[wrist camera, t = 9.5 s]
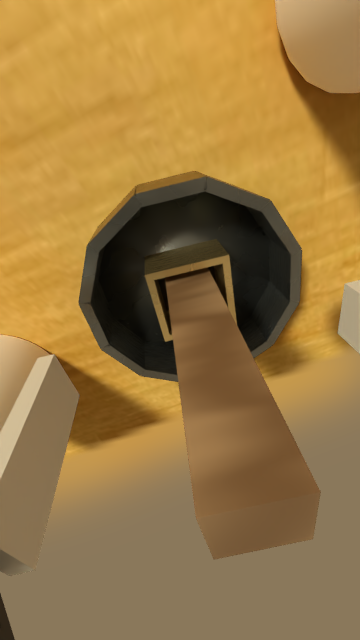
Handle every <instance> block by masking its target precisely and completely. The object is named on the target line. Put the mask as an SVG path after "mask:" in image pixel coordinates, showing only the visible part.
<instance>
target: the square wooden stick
mask: <svg viewBox="0 0 360 640" xmlns="http://www.w3.org/2000/svg"><path fill="white" fill-rule="evenodd" d="M165 281H166V289H167V297H168V305H169V312H170V320H171V328H172V336H173V343H174V351H175V359H176V367H177V374H178V382H179V390H180V398H181V405H182V413H183V421H184V429H185V436H186V444H187V452H188V460H189V467H190V475H191V483H192V491H193V498H194V506H195V514H196V519H197V522H198V524H199V526H200V529H201V531H202V533H203V535H204V538H205V540H206V542H207V545H208V547H209V549H210V552H211V554H212V556H213V559H219V558H223V557H229V556H233V555H238V554H243V553H248V552H253V551H257V550H262V549H267V548H272V547H277V546H282V545H286V544H292V543H296V542H301V541H306V540H311V539H313V536H314V529H315V523H316V517H317V510H318V505H319V499H320V493H321V492H320V490H319V488H318V486H317V484H316V482H315V480H314V478H313V476H312V474H311V472H310V470H309V468H308V466H307V464H306V462H305V460H304V458H303V456H302V454H301V452H300V450H299V448H298V446H297V444H296V442H295V440H294V438H293V436H292V434H291V432H290V430H289V428H288V426H287V424H286V422H285V420H284V418H283V416H282V414H281V412H280V410H279V408H278V406H277V404H276V402H275V400H274V398H273V396H272V394H271V392H270V390H269V388H268V386H267V384H266V382H265V380H264V378H263V376H262V374H261V372H260V370H259V368H258V366H257V364H256V362H255V360H254V358H253V356H252V354H251V352H250V350H249V348H248V346H247V344H246V342H245V340H244V338H243V336H242V334H241V332H240V330H239V328H238V326H237V324H236V322H235V320H234V318H233V316H232V315H231V313H230V311H229V309H228V307H227V305H226V303H225V301H224V299H223V297H222V295H221V293H220V291H219V289H218V287H217V285H216V283H215V281H214V279H213V277H212V275H211V273H210V271H209V269H208V267H206V268H202V269H198V270H194V271H190V272H186V273H182V274H177V275H173V276H169V277H165Z"/></svg>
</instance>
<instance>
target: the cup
mask: <svg viewBox="0 0 360 640" xmlns="http://www.w3.org/2000/svg"><path fill="white" fill-rule="evenodd" d="M48 355H50V354H49V353H48V352H46V351H45V350H44V349H42V348H41V347H39V346H37V345H35V344H33V343H31V342H29V341H26V340H24V339H21V338H17V337H13V336H8V335H0V432H1V430H2V428H3V426H4V424H5V422H6V420H7V418H8V416H9V414H10V412H11V410H12V408H13V406H14V404H15V402H16V400H17V398H18V396H19V394H20V392H21V390H22V388H23V386H24V384H25V382H26V380H27V378H28V376H29V374H30V372H31V370H32V368H33V366H34V364H35V362H36V360H37V358H40V357H44V356H48Z"/></svg>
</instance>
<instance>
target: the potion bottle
mask: <svg viewBox="0 0 360 640" xmlns="http://www.w3.org/2000/svg"><path fill="white" fill-rule="evenodd" d="M275 8H276V20H277V28H278V30H279V33H280V36H281V39H282V42H283V44H284V47H285V50H286V53H287V56H288V59H289V60H290V62H291V63H292V64H293V65H294V67H295V68H296V69H297V70H298V72H299V73H300V74H301V75H302V77H303V78H304V79H305V80H306V82H308V83H310V84H312V85H314V86H316V87H318V88H320V89H322V90H324V91H326V92H328V93H359V92H360V0H275Z"/></svg>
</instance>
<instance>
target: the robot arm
mask: <svg viewBox="0 0 360 640" xmlns="http://www.w3.org/2000/svg"><path fill="white" fill-rule="evenodd" d="M338 334H339V335H340V336H341V337H342V338H343V339H344V340H345V341H346V342H347V343H348V344H349V345H350V346H352V347H353V348H354V349H355V350H356V351H357V352H358V353H359V354H360V280H358V281H354V282H350V283H346V284H345V286H344V293H343V300H342V307H341V313H340V320H339V327H338ZM79 396H80V395H79V393H78V391H77V390H76V388H75V387H74V385H73V383H72V382H71V380H70V379H69V377H68V375H67V374H66V372H65V370H64V369H63V367H62V366H61V364H60V362H59V361H58V359H57V358H56V356H55V354H53V355H48V356H44V357H40V358H37V360H36V362H35V364H34V366H33V368H32V370H31V372H30V374H29V376H28V378H27V380H26V382H25V384H24V386H23V388H22V390H21V392H20V394H19V396H18V398H17V400H16V402H15V404H14V406H13V408H12V410H11V412H10V414H9V416H8V418H7V420H6V422H5V424H4V426H3V428H2V430H1V432H0V571H1V572H3V573H5V574H7V575H9V576H12V575H16V574H21V573H25V572H30V571H34V570H35V569H36V565H37V561H38V557H39V553H40V549H41V545H42V541H43V538H44V533H45V530H46V526H47V522H48V518H49V514H50V510H51V506H52V502H53V498H54V494H55V490H56V487H57V483H58V478H59V475H60V471H61V467H62V463H63V459H64V455H65V451H66V447H67V443H68V439H69V436H70V432H71V428H72V424H73V420H74V416H75V412H76V408H77V404H78V400H79ZM0 640H15V639H14V636H13V633H12V630H11V626H10V623H9V620H8V617H7V613H6V610H5V607H4V604H3V601H2V597H1V594H0Z"/></svg>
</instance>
